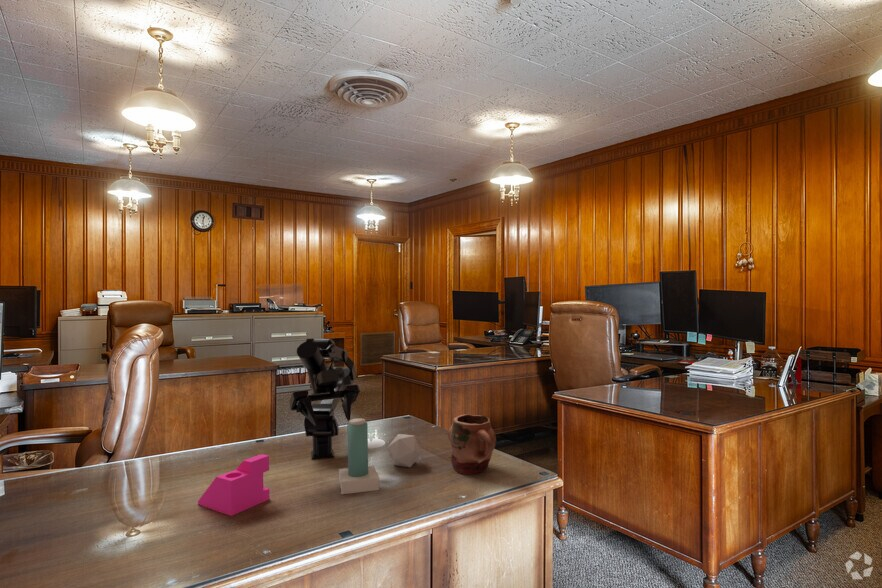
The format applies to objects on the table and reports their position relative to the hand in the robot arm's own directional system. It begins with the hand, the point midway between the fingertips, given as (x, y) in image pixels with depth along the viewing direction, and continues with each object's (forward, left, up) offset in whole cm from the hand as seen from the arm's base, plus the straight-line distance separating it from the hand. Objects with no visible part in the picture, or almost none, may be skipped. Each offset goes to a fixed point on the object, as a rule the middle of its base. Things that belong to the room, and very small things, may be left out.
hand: (333, 422), depth 135 cm
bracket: (+12, -23, -14) cm, 30 cm away
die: (-1, +20, -14) cm, 24 cm away
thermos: (+11, +6, -11) cm, 16 cm away
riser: (+11, +6, -14) cm, 18 cm away
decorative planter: (+9, +37, -14) cm, 40 cm away
